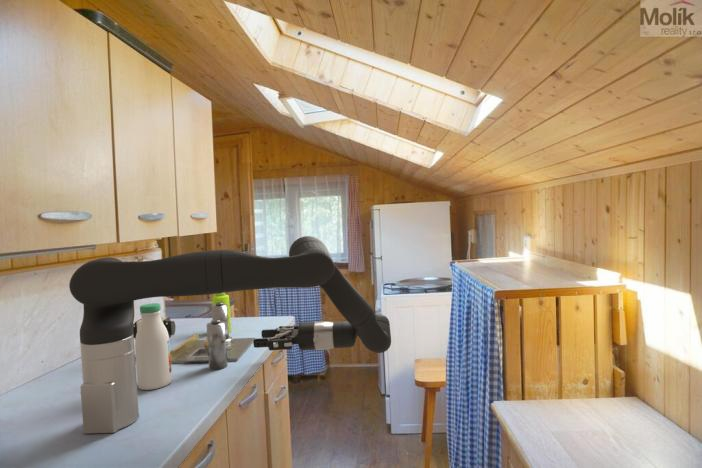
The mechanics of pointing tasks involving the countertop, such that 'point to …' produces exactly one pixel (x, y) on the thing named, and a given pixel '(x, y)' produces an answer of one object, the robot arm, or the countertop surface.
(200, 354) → the carrier plate
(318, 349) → the robot arm
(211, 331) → the cylinder
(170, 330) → the pneumatic valve
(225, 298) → the soap dispenser
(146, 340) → the milk bottle
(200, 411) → the countertop surface
